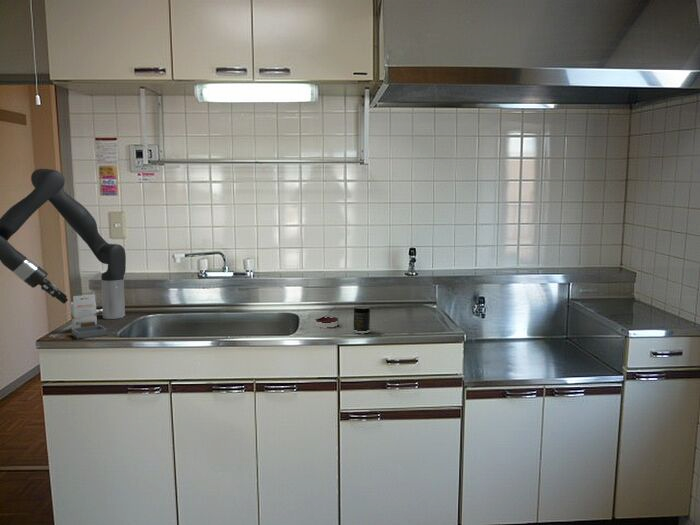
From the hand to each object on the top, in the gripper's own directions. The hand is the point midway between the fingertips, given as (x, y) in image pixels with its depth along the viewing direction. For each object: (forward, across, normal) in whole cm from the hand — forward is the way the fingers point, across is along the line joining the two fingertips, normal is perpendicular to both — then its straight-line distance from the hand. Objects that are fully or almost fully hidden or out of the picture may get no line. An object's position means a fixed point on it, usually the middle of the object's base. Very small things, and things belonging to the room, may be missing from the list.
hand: (65, 300), depth 210 cm
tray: (+14, -9, +4) cm, 18 cm away
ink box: (+14, 0, +5) cm, 15 cm away
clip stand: (+14, 0, +5) cm, 14 cm away
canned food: (+78, -37, -59) cm, 105 cm away
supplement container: (+82, -55, -64) cm, 118 cm away
